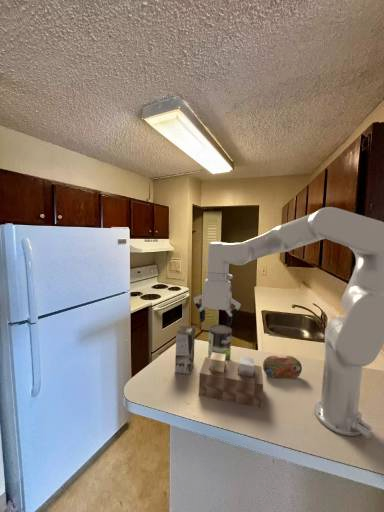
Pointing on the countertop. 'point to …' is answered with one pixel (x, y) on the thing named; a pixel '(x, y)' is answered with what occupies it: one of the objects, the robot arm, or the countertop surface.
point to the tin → (282, 367)
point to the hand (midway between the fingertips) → (215, 323)
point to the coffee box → (184, 349)
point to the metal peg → (246, 367)
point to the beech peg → (217, 362)
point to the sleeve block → (231, 384)
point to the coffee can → (220, 340)
